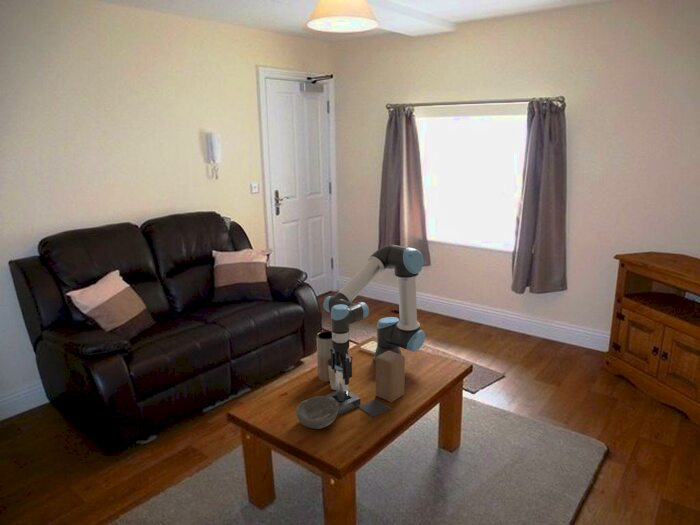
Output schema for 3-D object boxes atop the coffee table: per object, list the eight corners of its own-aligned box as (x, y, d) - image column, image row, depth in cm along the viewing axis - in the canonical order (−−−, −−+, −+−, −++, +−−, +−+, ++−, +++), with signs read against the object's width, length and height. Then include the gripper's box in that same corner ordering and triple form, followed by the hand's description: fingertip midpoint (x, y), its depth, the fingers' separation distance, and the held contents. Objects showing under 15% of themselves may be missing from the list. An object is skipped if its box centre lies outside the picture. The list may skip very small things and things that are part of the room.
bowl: (304, 440, 198) (303, 423, 195) (291, 418, 213) (290, 401, 211) (345, 429, 204) (345, 412, 202) (330, 408, 220) (329, 392, 218)
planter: (341, 377, 247) (340, 335, 241) (324, 383, 242) (323, 340, 236) (331, 370, 255) (329, 329, 249) (314, 375, 250) (312, 333, 244)
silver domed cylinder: (343, 393, 227) (342, 361, 222) (351, 398, 222) (350, 365, 218) (333, 397, 223) (331, 365, 219) (340, 403, 219) (340, 370, 214)
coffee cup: (344, 392, 234) (344, 363, 230) (326, 390, 235) (325, 361, 231) (348, 382, 242) (348, 354, 238) (330, 381, 244) (330, 353, 240)
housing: (344, 394, 231) (344, 387, 230) (360, 405, 222) (360, 398, 221) (323, 403, 224) (323, 396, 223) (339, 414, 215) (338, 407, 214)
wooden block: (374, 395, 230) (374, 356, 225) (388, 387, 237) (388, 349, 232) (391, 403, 223) (392, 363, 218) (405, 394, 230) (405, 355, 225)
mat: (375, 400, 226) (375, 399, 226) (390, 409, 219) (390, 408, 218) (358, 407, 220) (358, 406, 220) (373, 417, 213) (373, 416, 212)
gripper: (321, 335, 220) (323, 382, 226) (346, 349, 206) (347, 398, 212) (335, 331, 224) (337, 377, 230) (360, 344, 211) (361, 392, 217)
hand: (342, 387), depth 221 cm, fingers closed on silver domed cylinder, 5 cm apart
